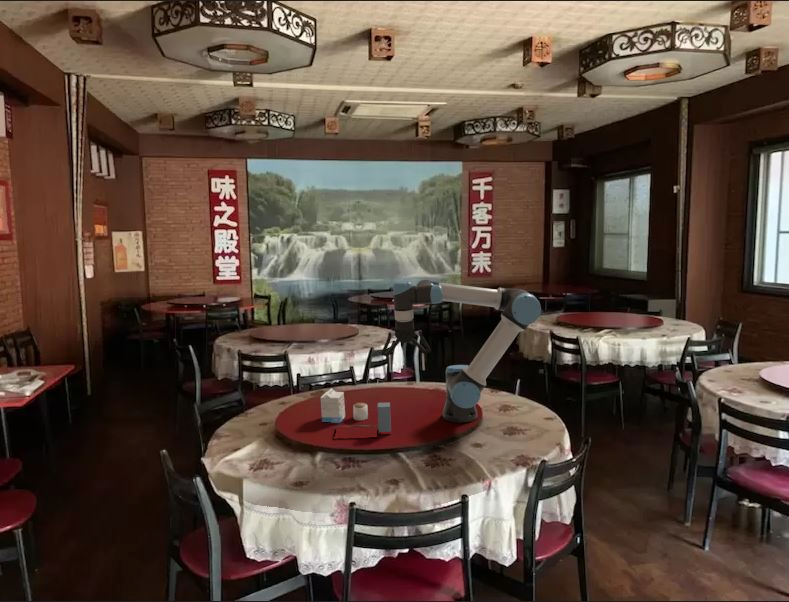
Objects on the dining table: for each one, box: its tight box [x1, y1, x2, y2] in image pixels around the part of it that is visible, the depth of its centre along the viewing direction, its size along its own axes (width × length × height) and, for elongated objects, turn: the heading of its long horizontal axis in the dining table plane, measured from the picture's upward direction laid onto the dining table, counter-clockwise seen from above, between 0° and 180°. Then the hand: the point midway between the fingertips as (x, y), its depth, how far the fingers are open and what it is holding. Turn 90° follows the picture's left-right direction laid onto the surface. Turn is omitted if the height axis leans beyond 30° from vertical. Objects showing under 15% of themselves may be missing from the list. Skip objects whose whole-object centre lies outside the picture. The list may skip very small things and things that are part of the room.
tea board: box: [335, 424, 378, 428], centre depth 247 cm, size 18×12×1 cm, turn 90°
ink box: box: [320, 387, 346, 424], centre depth 262 cm, size 9×8×13 cm
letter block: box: [377, 402, 392, 433], centre depth 246 cm, size 5×5×12 cm
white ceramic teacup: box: [352, 402, 369, 421], centre depth 263 cm, size 6×6×6 cm
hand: (407, 370), depth 242 cm, fingers open, 13 cm apart
